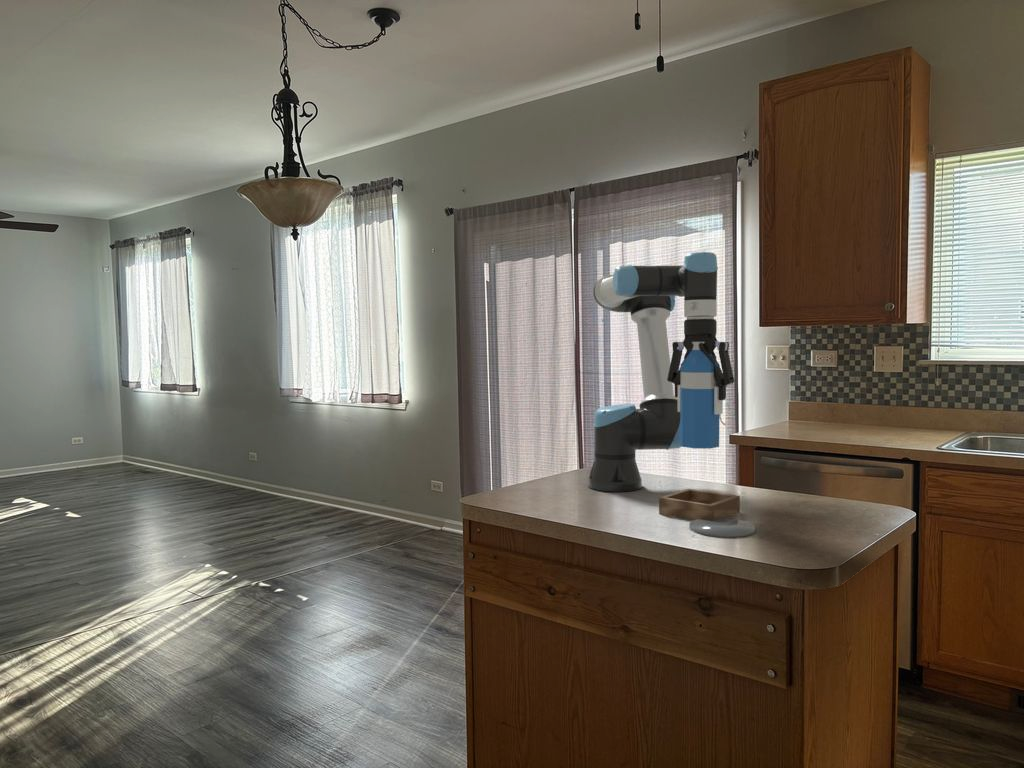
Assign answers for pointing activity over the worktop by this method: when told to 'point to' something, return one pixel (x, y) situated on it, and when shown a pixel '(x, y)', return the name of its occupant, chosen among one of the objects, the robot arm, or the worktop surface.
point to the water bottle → (698, 401)
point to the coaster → (722, 527)
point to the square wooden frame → (699, 504)
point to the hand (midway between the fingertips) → (699, 412)
